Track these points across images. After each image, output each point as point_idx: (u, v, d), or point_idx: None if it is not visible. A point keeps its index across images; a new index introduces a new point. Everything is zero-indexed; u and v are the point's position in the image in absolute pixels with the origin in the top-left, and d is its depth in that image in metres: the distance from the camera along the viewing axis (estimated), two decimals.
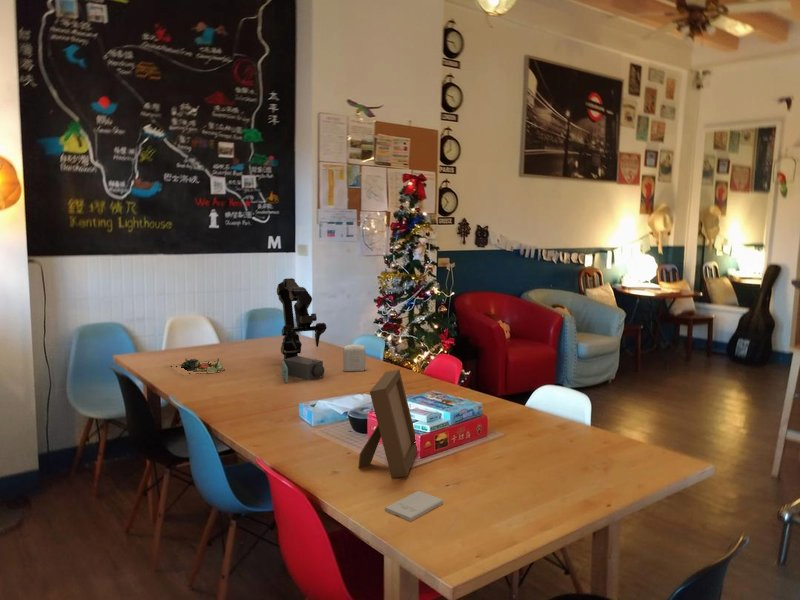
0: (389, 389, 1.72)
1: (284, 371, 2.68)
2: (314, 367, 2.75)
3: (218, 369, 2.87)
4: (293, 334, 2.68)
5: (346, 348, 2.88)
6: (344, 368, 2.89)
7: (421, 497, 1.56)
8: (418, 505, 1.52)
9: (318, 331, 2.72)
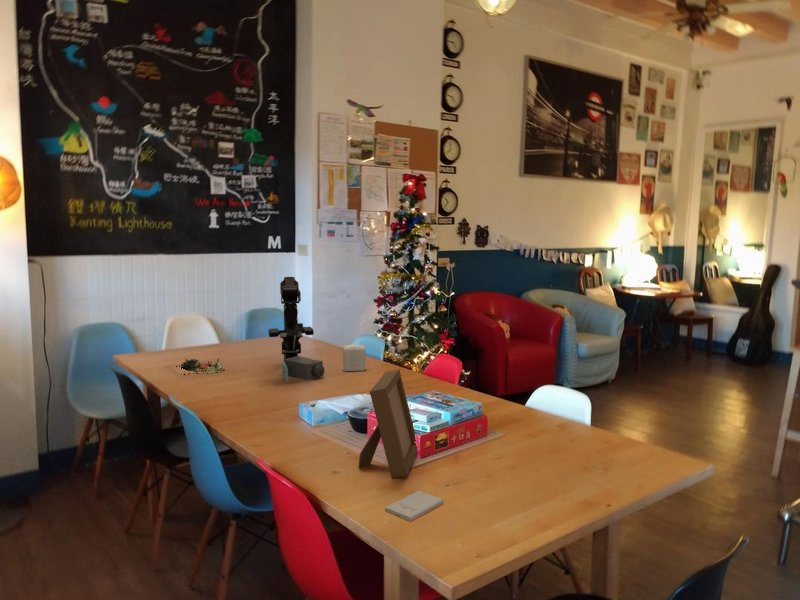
0: (389, 389, 1.72)
1: (284, 371, 2.68)
2: (314, 367, 2.75)
3: (218, 369, 2.87)
4: (286, 339, 2.68)
5: (346, 348, 2.88)
6: (344, 368, 2.89)
7: (421, 497, 1.56)
8: (418, 505, 1.52)
9: (296, 338, 2.68)
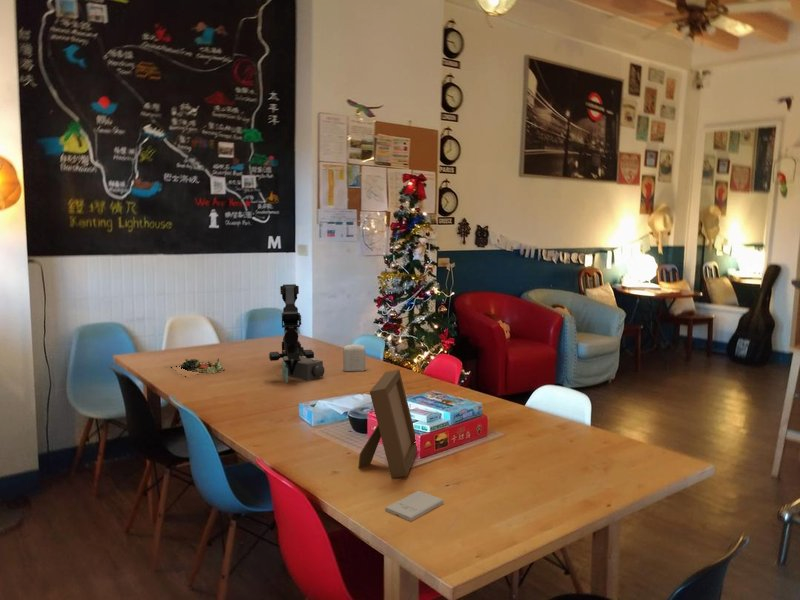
0: (389, 389, 1.72)
1: (284, 371, 2.68)
2: (314, 367, 2.75)
3: (218, 369, 2.87)
4: (289, 362, 2.69)
5: (346, 348, 2.88)
6: (344, 368, 2.89)
7: (421, 497, 1.56)
8: (418, 505, 1.52)
9: (294, 361, 2.69)
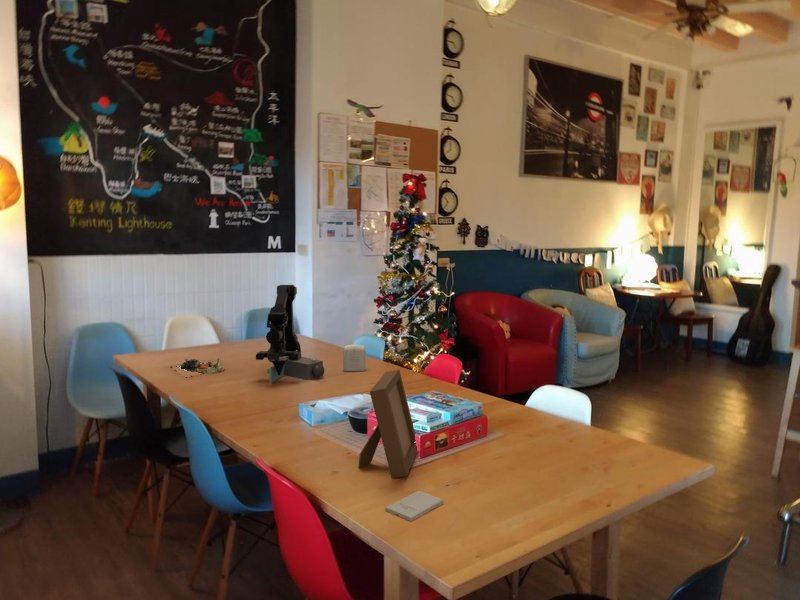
0: (389, 389, 1.72)
1: (268, 371, 2.68)
2: (314, 367, 2.75)
3: (218, 369, 2.87)
4: (275, 363, 2.68)
5: (346, 348, 2.88)
6: (344, 368, 2.89)
7: (421, 497, 1.56)
8: (418, 505, 1.52)
9: (279, 362, 2.68)
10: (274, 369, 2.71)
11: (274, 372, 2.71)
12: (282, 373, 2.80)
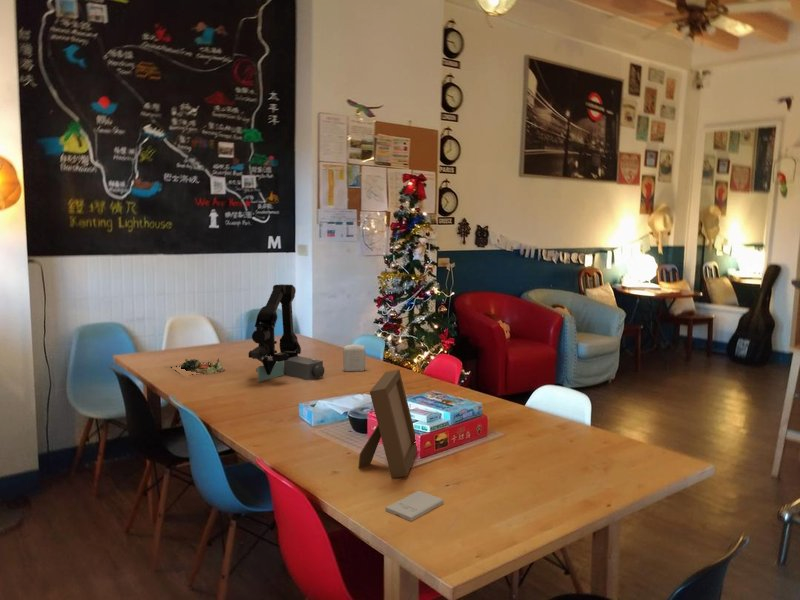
0: (389, 389, 1.72)
1: (257, 369, 2.71)
2: (314, 367, 2.75)
3: (218, 369, 2.87)
4: (263, 362, 2.70)
5: (346, 348, 2.88)
6: (344, 368, 2.89)
7: (421, 497, 1.56)
8: (419, 505, 1.52)
9: (266, 362, 2.68)
10: None
11: (264, 371, 2.72)
12: (280, 373, 2.80)
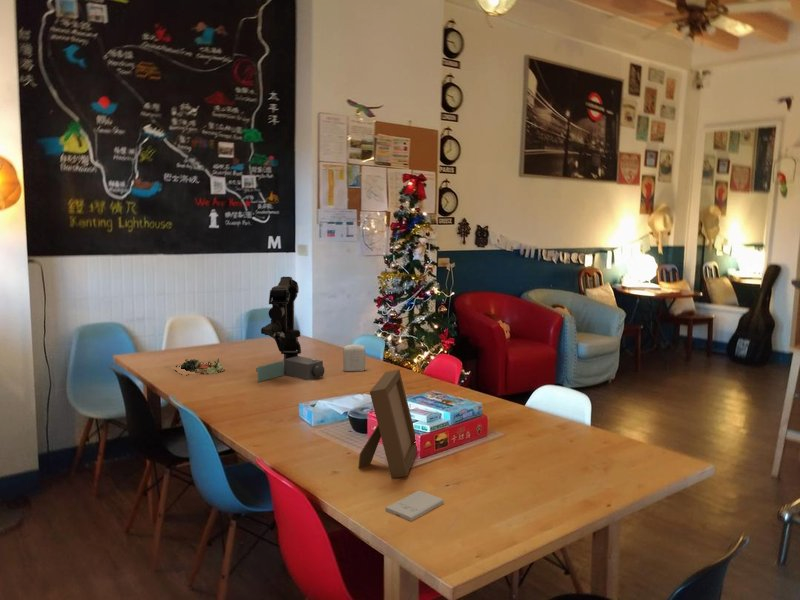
0: (389, 389, 1.72)
1: (256, 369, 2.71)
2: (314, 367, 2.75)
3: (218, 370, 2.86)
4: (275, 339, 2.72)
5: (346, 348, 2.88)
6: (344, 368, 2.89)
7: (421, 497, 1.56)
8: (419, 505, 1.52)
9: (278, 338, 2.70)
10: (265, 368, 2.73)
11: (264, 371, 2.72)
12: (280, 373, 2.80)
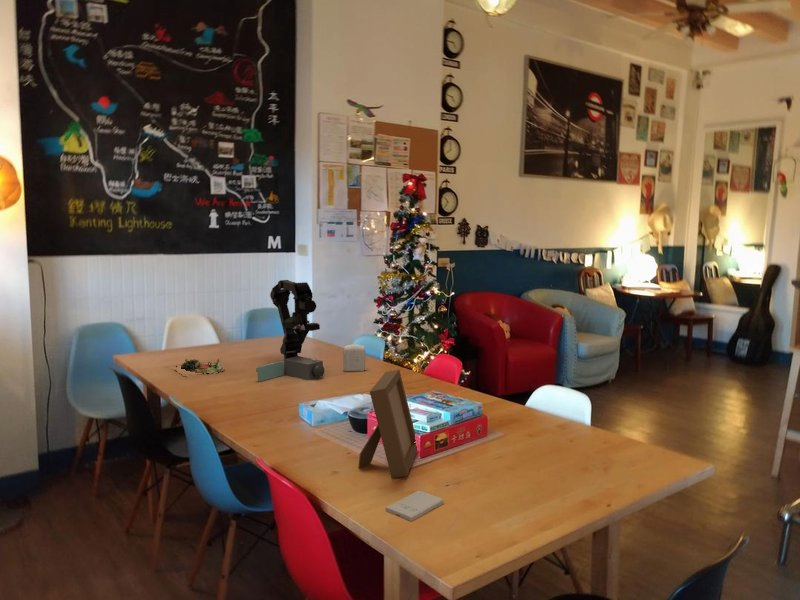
0: (389, 389, 1.72)
1: (256, 369, 2.71)
2: (314, 367, 2.75)
3: (218, 370, 2.86)
4: (296, 331, 2.86)
5: (346, 348, 2.88)
6: (344, 368, 2.89)
7: (421, 497, 1.56)
8: (419, 505, 1.52)
9: (299, 331, 2.85)
10: (265, 368, 2.73)
11: (264, 371, 2.72)
12: (280, 373, 2.80)
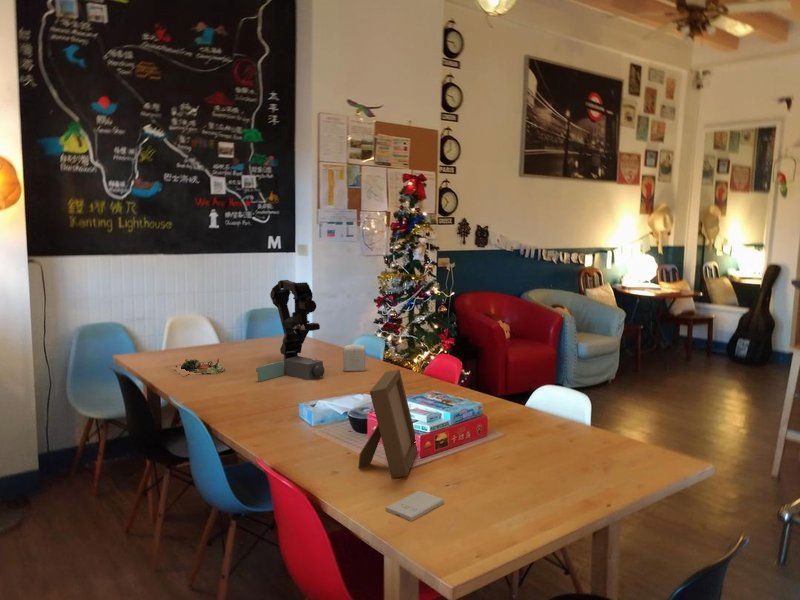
0: (389, 389, 1.72)
1: (256, 369, 2.71)
2: (314, 367, 2.75)
3: (218, 370, 2.86)
4: (296, 331, 2.86)
5: (346, 348, 2.88)
6: (344, 368, 2.89)
7: (421, 497, 1.56)
8: (419, 505, 1.52)
9: (299, 331, 2.85)
10: (265, 368, 2.73)
11: (264, 371, 2.72)
12: (280, 373, 2.80)
